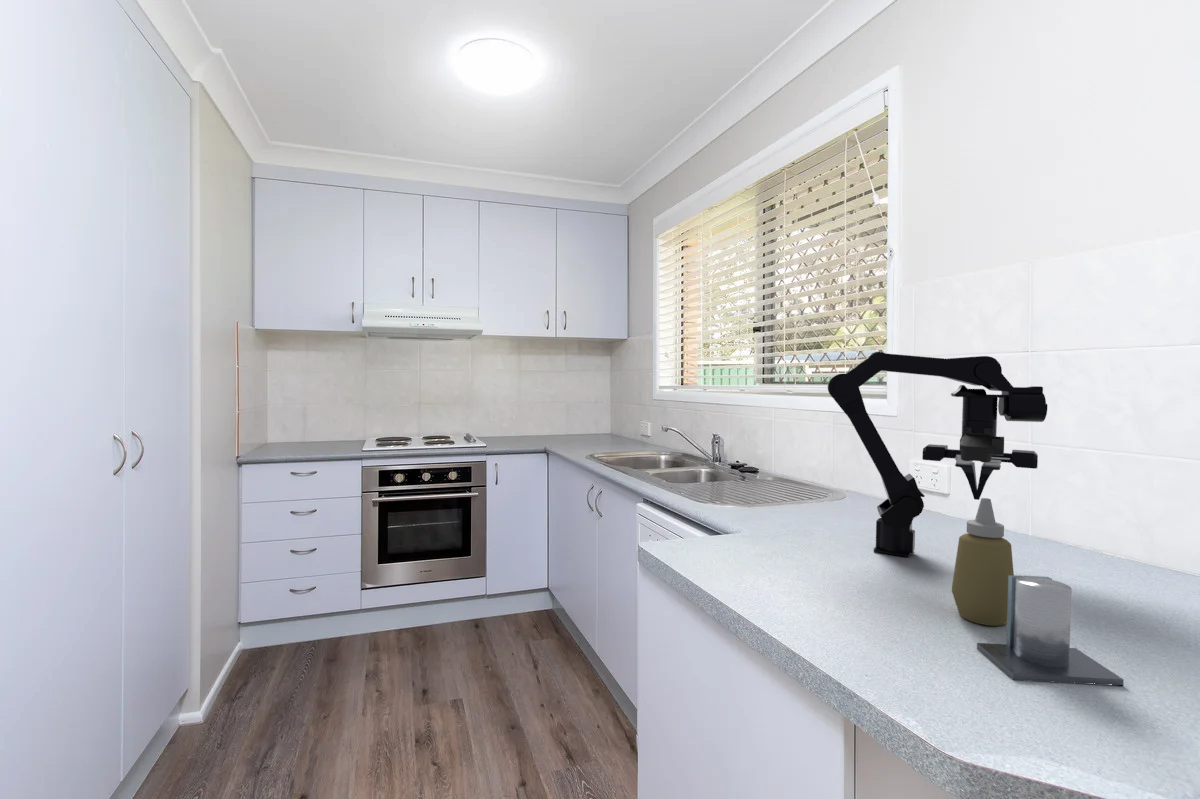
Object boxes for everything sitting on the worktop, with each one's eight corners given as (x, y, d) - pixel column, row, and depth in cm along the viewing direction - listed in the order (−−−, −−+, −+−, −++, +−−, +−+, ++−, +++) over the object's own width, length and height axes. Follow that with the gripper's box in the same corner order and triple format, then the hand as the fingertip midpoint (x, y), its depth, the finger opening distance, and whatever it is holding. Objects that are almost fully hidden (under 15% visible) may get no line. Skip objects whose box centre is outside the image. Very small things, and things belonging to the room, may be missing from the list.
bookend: (977, 648, 77) (979, 573, 77) (1075, 654, 76) (1078, 578, 75) (1012, 679, 69) (1015, 596, 69) (1123, 686, 68) (1126, 601, 67)
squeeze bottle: (1004, 612, 89) (1008, 495, 89) (1024, 634, 82) (1028, 506, 81) (944, 605, 92) (948, 491, 91) (957, 625, 84) (961, 502, 84)
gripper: (919, 420, 114) (917, 500, 114) (1039, 425, 103) (1036, 513, 103) (927, 417, 123) (925, 491, 123) (1038, 421, 112) (1035, 503, 112)
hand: (976, 499), depth 115 cm, fingers closed
